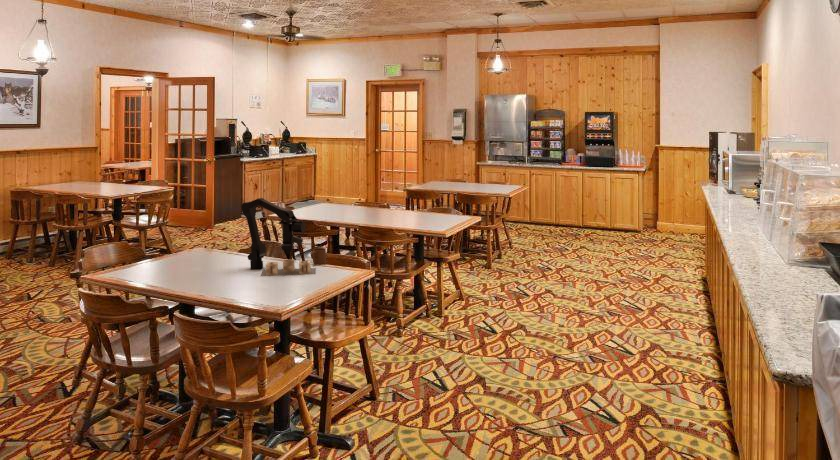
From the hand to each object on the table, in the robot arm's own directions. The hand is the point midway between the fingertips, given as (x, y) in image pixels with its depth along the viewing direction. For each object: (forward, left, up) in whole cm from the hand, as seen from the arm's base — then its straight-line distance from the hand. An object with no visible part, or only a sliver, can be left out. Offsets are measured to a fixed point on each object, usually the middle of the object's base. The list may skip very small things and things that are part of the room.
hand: (288, 259), depth 346 cm
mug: (+16, +16, -8) cm, 24 cm away
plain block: (0, 0, -7) cm, 7 cm away
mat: (0, -3, -7) cm, 8 cm away
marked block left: (-9, -6, -7) cm, 13 cm away
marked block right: (+9, -6, -7) cm, 13 cm away
